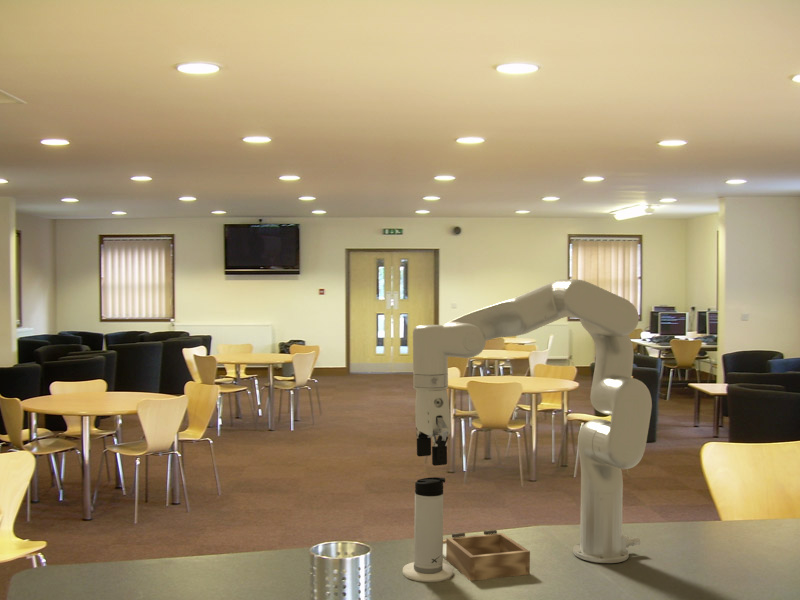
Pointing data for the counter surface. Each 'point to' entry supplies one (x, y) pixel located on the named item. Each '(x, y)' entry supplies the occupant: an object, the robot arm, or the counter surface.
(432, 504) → the travel mug
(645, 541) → the counter surface
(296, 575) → the counter surface
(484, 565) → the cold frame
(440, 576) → the saucer
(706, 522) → the counter surface
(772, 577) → the counter surface
